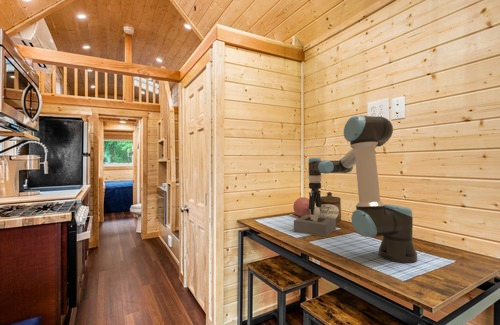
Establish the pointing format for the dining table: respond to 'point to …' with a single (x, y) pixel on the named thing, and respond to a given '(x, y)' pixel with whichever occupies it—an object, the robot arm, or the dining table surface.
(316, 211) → the lightbulb
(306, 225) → the socket block
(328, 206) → the wooden container
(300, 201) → the balloon
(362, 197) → the robot arm
